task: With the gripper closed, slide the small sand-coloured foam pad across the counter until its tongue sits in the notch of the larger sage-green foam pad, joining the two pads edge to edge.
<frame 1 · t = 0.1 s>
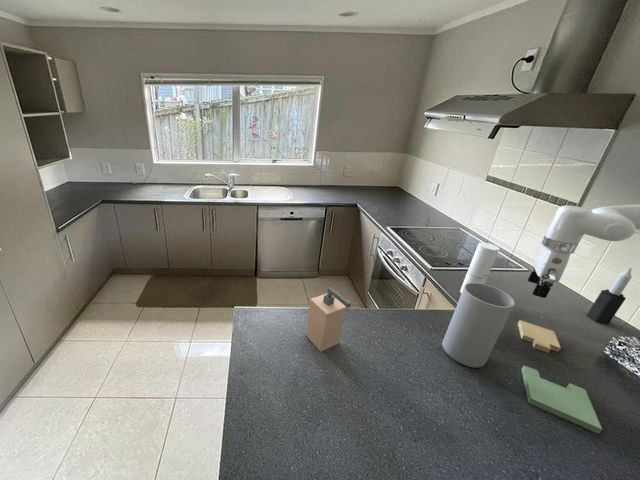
hand: (535, 289, 95), 22 cm above the worktop, tool pointing down, fingers open, 9 cm apart
cylinder vase: (462, 353, 97), on the worktop
cylindrical container: (469, 294, 129), on the worktop
big pad: (555, 398, 82), on the worktop
soap dispenser: (325, 343, 99), on the worktop
small pad: (536, 337, 105), on the worktop
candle: (597, 319, 116), on the worktop
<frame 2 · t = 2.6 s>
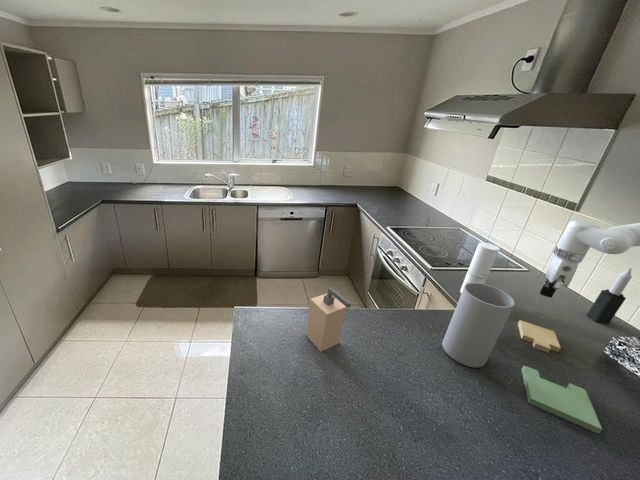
hand: (545, 295, 108), 13 cm above the worktop, tool pointing down, fingers closed
nothing on the worktop moved.
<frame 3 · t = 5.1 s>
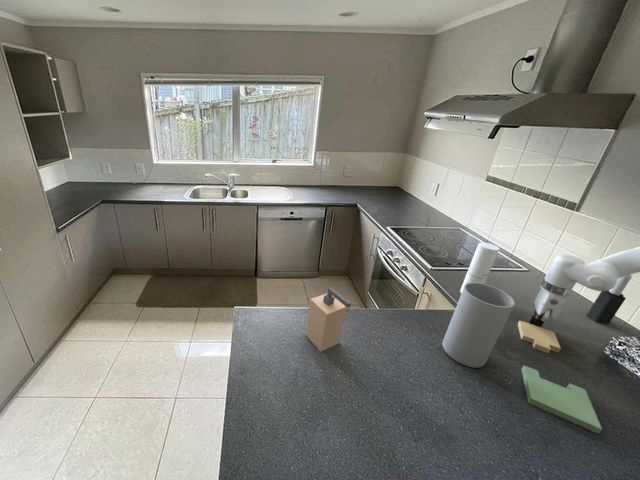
hand: (534, 325, 110), 1 cm above the worktop, tool pointing down, fingers closed
small pad: (536, 337, 105), on the worktop, touching gripper
everything else where it was.
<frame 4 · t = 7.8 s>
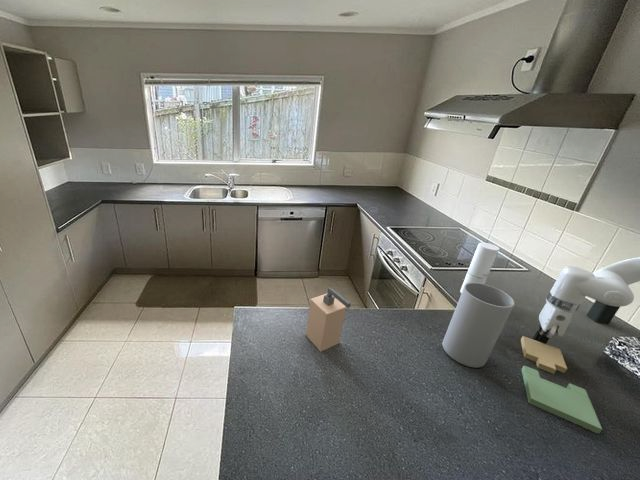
hand: (538, 342, 102), 1 cm above the worktop, tool pointing down, fingers closed
small pad: (541, 355, 97), on the worktop, touching gripper
everything else where it was.
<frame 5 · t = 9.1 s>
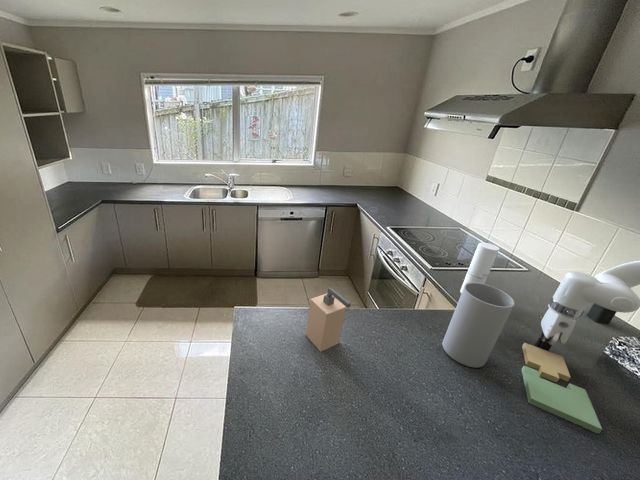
hand: (540, 348, 99), 1 cm above the worktop, tool pointing down, fingers closed
small pad: (543, 363, 94), on the worktop, touching gripper
everything else where it was.
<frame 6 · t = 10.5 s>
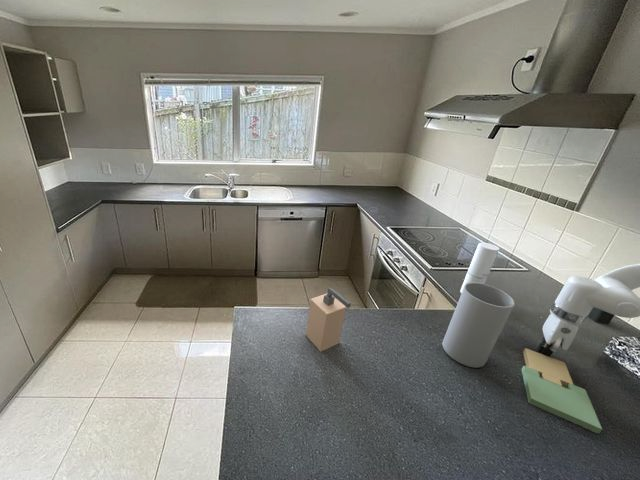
hand: (542, 354, 96), 1 cm above the worktop, tool pointing down, fingers closed
small pad: (545, 369, 92), on the worktop, touching big pad, gripper
everything else where it was.
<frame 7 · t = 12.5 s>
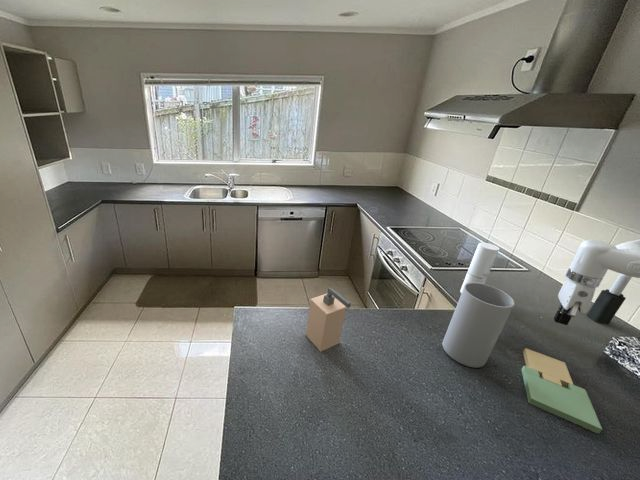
hand: (560, 322, 98), 11 cm above the worktop, tool pointing down, fingers closed
small pad: (545, 369, 92), on the worktop
everything else where it was.
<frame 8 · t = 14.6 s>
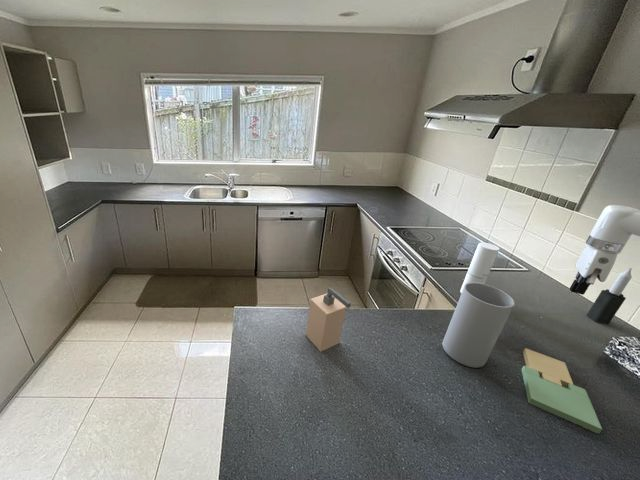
hand: (576, 291, 95), 22 cm above the worktop, tool pointing down, fingers closed
nothing on the worktop moved.
at the end: small pad 0.5 cm from the target spot on the worktop beside the big pad, on the worktop; small pad tilted 0° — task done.
